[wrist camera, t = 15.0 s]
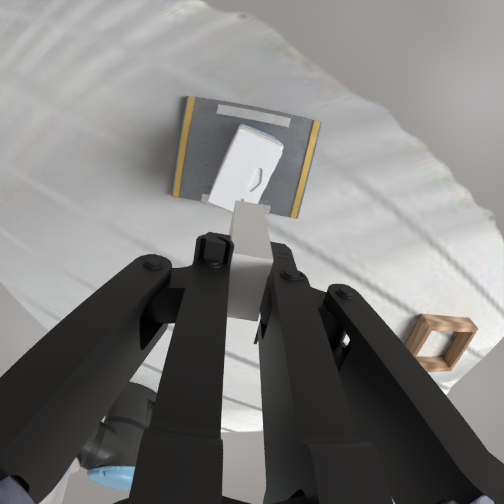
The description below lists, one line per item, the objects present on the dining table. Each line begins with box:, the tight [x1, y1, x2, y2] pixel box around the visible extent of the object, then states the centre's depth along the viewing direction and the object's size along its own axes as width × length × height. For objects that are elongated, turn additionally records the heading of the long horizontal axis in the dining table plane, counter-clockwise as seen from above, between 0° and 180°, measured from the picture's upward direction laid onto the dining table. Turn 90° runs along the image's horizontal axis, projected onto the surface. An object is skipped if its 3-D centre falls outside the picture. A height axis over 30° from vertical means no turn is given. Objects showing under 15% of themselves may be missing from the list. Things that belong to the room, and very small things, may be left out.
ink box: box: [207, 123, 283, 214], centre depth 35 cm, size 9×5×12 cm, turn 156°
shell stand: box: [405, 314, 478, 372], centre depth 55 cm, size 16×12×4 cm
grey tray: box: [171, 96, 322, 219], centre depth 39 cm, size 18×14×4 cm
